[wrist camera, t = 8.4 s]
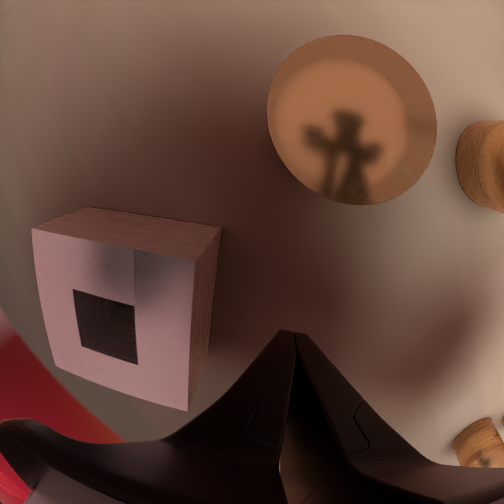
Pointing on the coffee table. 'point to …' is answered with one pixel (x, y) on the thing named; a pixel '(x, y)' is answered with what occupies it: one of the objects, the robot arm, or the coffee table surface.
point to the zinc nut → (128, 300)
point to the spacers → (377, 148)
